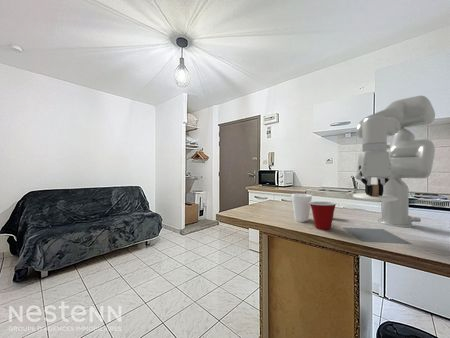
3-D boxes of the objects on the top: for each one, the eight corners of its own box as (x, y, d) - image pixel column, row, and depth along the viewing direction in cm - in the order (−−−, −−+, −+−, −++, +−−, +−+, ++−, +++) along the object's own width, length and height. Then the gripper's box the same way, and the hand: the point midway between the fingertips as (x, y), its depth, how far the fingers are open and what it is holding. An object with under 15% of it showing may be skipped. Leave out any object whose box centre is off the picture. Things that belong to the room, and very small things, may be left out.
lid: (382, 195, 82) (382, 182, 82) (407, 201, 69) (408, 186, 68) (346, 195, 85) (346, 182, 85) (364, 201, 71) (364, 186, 71)
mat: (383, 230, 83) (383, 229, 83) (412, 245, 67) (412, 243, 67) (342, 228, 86) (342, 227, 86) (361, 242, 70) (361, 241, 70)
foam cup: (314, 223, 94) (314, 196, 94) (295, 223, 95) (295, 196, 94) (306, 217, 104) (306, 193, 104) (289, 217, 104) (289, 193, 104)
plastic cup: (322, 224, 92) (322, 199, 92) (342, 231, 82) (342, 203, 82) (303, 226, 89) (303, 200, 89) (322, 234, 79) (322, 205, 78)
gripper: (391, 148, 78) (391, 193, 79) (347, 149, 81) (347, 193, 82) (405, 147, 71) (404, 197, 72) (356, 148, 74) (356, 196, 74)
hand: (374, 194), depth 77 cm, fingers closed on lid, 3 cm apart
